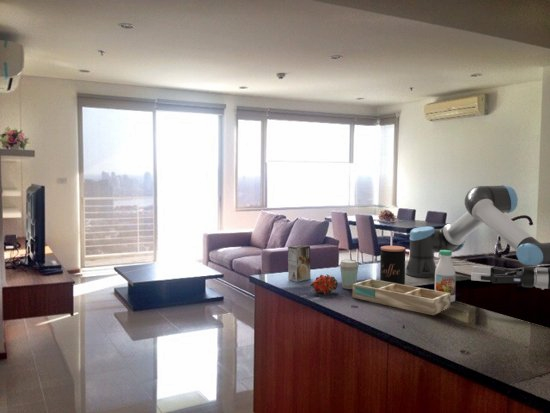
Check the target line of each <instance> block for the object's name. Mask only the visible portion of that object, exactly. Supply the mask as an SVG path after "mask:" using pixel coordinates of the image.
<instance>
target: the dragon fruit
mask: <svg viewBox="0 0 550 413" xmlns="http://www.w3.org/2000/svg"><path fill="white" fill-rule="evenodd" d="M338 285H339V283H338V280H337V278H335V277H334V276H330V275H329V274H326V275H322V274H319V276H318V277H316V278H315V280H314V281H313V282H312V283H311V284H310V287H312V288H313V292H315V293H318V294H322V293H323V294H324V295H326V294H330V293H331V294H332V292H333V291H336V290H337V287H338Z"/></svg>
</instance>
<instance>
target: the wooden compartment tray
mask: <svg viewBox="0 0 550 413" xmlns="http://www.w3.org/2000/svg"><path fill="white" fill-rule="evenodd" d="M351 290H352V292H351V293H352V294H351V295H352V298H354V299H358V300H363V301H367V302H372V303H376V304H380V305H386V306H389V307H394V308H398V309H403V310H407V311H413V312H417V313H421V314H426V315H431V316H436V315H437V314H440V313H442V312H444V311H446V310H448V309H450V308H451V302H450V294H451V293H446V292H441V291H435V289H429V288H424V287H418V286H411V285H407V284H405V285H402V284H397V283H391V282H385V281H380V280H378V279H374V278H373V279H372V278H368V279H366V280H362V281H359V282H356V283H355V284H353V287H352V289H351ZM449 307H450V308H449ZM447 308H448V309H447ZM445 309H446V310H445ZM443 310H444V311H443ZM441 311H442V312H441Z"/></svg>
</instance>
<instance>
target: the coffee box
mask: <svg viewBox="0 0 550 413" xmlns="http://www.w3.org/2000/svg"><path fill="white" fill-rule="evenodd" d="M287 254H288V255H287V262H288V265H287V266H288V267H287V268H288V271H287V272H288V273H287V275H288V280H289V281H293V282H301V281H306V280H311V245H305V244H297V245H292V246H287Z"/></svg>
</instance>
